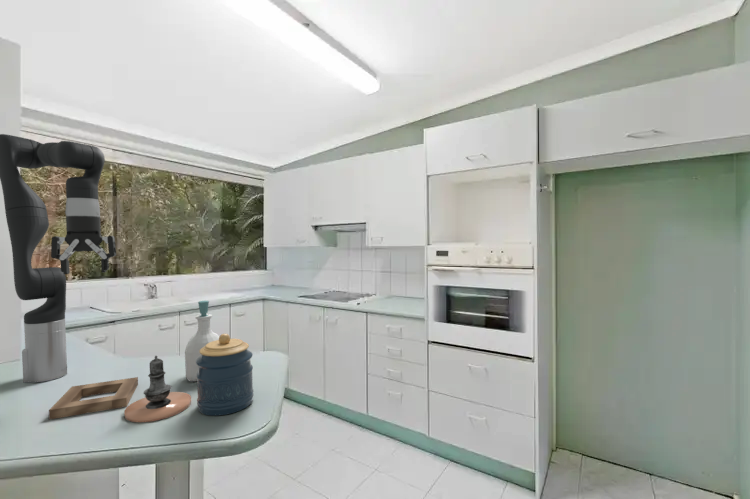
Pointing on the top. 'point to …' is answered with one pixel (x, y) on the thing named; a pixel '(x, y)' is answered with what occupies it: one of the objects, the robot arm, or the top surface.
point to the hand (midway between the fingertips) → (85, 273)
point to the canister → (224, 377)
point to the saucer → (142, 414)
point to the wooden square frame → (73, 406)
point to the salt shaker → (157, 386)
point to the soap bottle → (198, 341)
